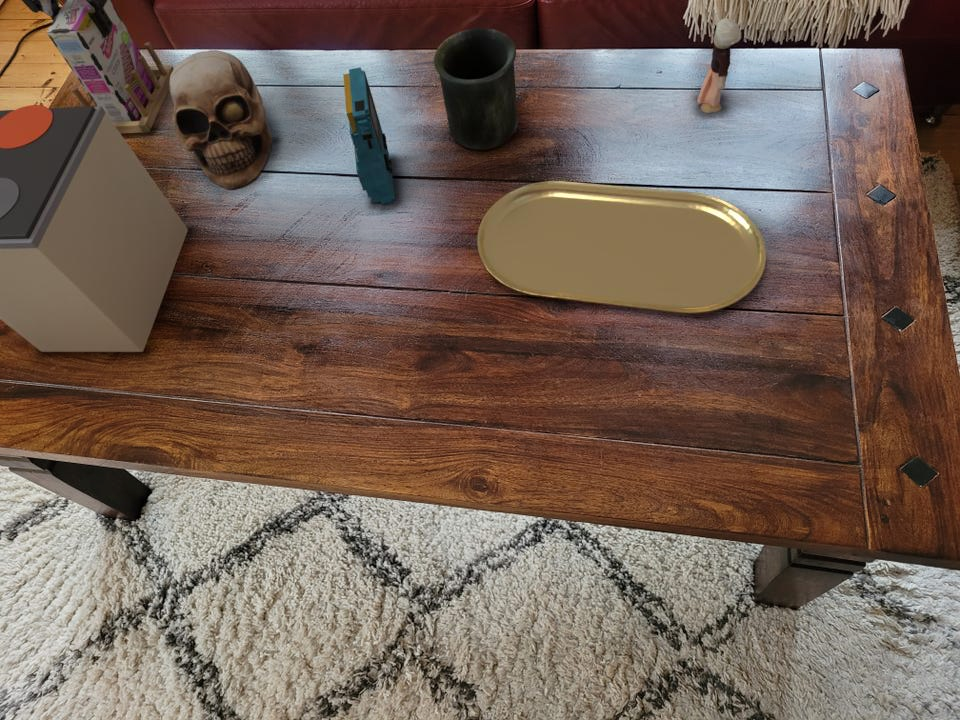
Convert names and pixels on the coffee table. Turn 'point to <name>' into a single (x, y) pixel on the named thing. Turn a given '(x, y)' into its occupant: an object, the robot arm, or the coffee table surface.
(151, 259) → the stove
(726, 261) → the serving platter
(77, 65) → the candy bar box
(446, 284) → the coffee table surface
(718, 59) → the grandmother figurine
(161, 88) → the rack
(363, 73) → the handheld gaming console
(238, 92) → the tan skull
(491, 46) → the mug
